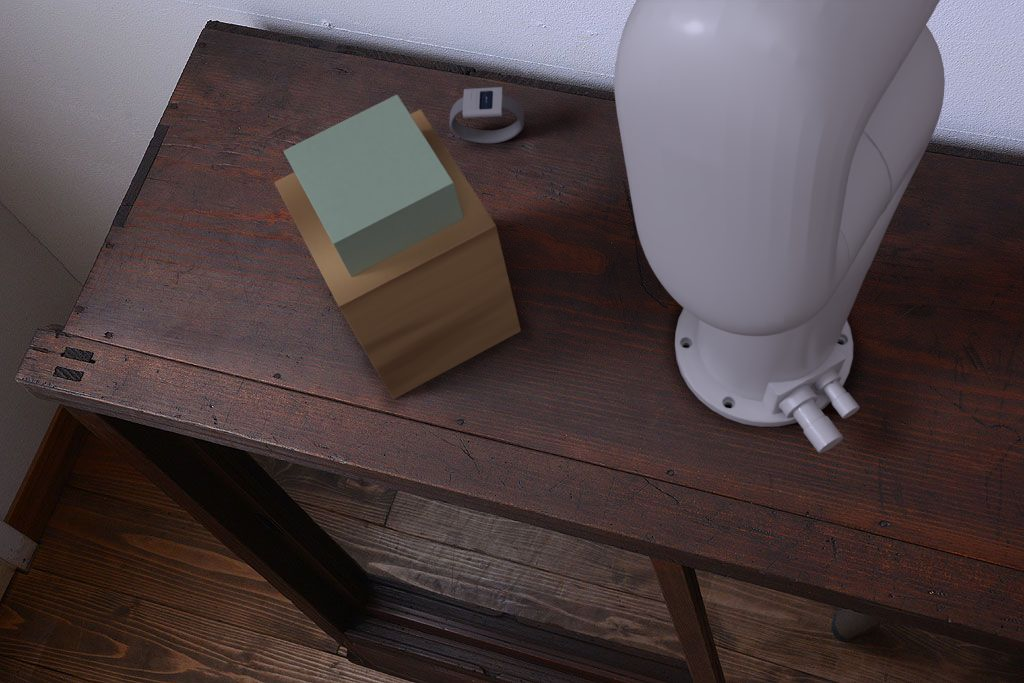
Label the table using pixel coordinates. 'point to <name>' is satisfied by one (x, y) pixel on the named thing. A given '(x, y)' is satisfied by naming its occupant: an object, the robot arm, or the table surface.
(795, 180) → the robot arm
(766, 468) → the table surface
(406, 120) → the block
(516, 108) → the wristwatch
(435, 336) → the stand
